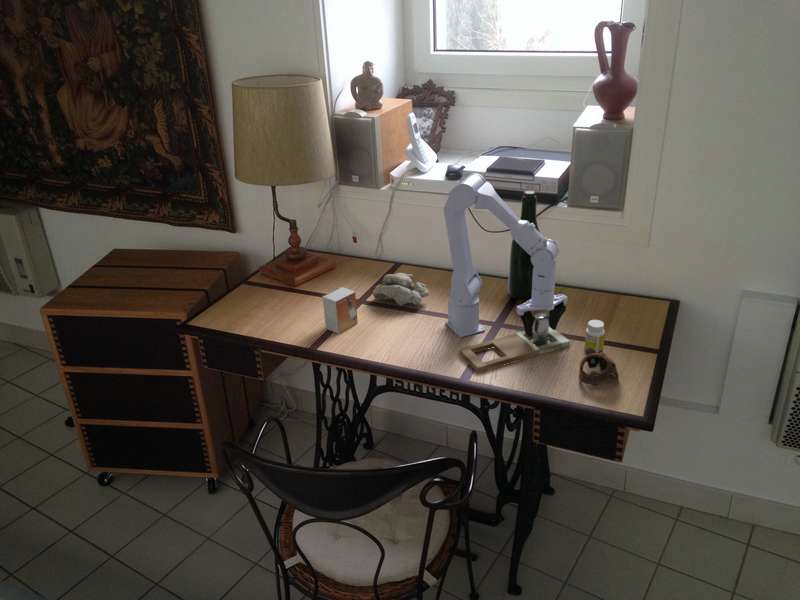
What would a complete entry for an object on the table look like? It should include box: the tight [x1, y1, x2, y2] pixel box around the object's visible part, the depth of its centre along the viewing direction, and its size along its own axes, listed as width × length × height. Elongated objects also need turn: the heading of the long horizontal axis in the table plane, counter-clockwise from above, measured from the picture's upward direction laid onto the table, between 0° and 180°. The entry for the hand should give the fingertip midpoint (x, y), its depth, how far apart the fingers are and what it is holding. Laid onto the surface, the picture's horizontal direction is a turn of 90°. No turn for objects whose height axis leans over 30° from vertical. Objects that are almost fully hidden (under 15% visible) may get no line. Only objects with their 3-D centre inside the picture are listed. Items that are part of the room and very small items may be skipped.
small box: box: [322, 286, 359, 335], centre depth 195 cm, size 8×6×10 cm
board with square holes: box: [458, 327, 571, 373], centre depth 182 cm, size 10×28×2 cm, turn 114°
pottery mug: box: [578, 348, 619, 386], centre depth 168 cm, size 12×10×8 cm
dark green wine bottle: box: [507, 190, 541, 302], centre depth 202 cm, size 10×10×33 cm
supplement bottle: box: [583, 319, 606, 354], centre depth 178 cm, size 5×5×8 cm
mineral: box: [372, 272, 430, 306], centre depth 207 cm, size 12×17×10 cm
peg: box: [532, 313, 549, 347], centre depth 183 cm, size 4×4×8 cm
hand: (540, 331), depth 183 cm, fingers open, 7 cm apart
